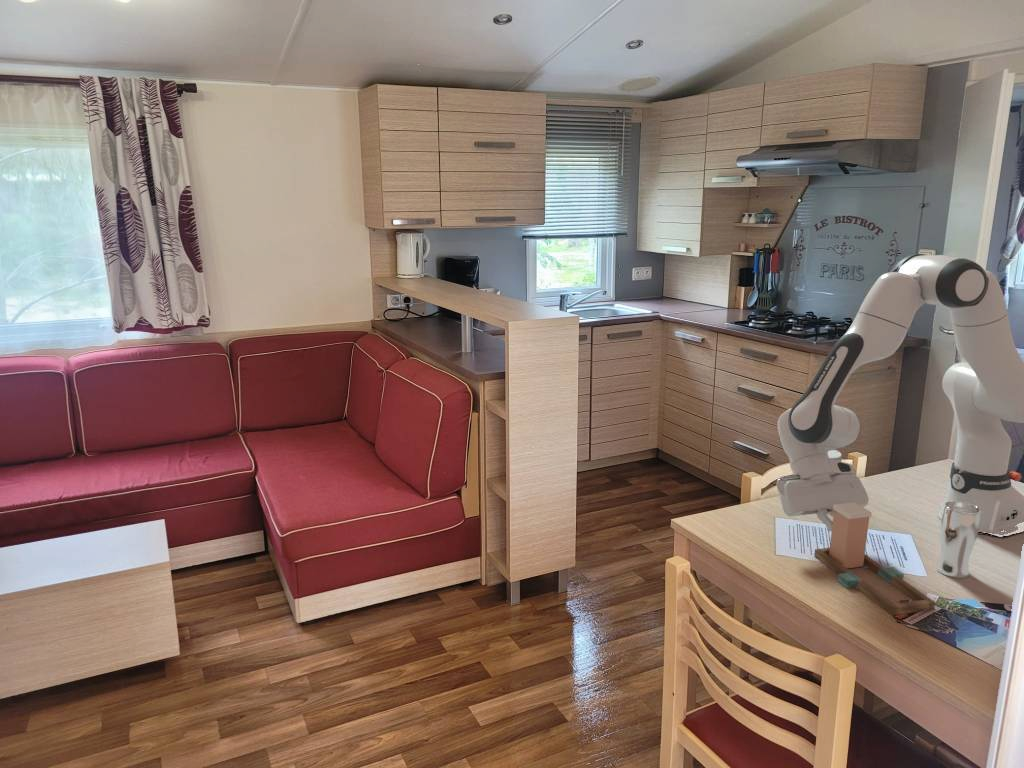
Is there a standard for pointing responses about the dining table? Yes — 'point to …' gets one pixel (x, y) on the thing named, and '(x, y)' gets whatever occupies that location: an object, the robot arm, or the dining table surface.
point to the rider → (849, 534)
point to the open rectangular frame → (888, 574)
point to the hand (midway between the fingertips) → (836, 529)
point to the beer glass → (957, 537)
